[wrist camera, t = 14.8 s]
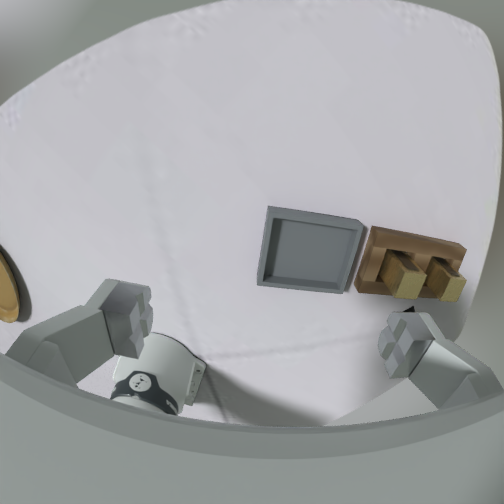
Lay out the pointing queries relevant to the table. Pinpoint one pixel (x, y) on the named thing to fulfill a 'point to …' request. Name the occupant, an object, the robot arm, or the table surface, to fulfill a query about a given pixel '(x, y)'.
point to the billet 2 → (444, 279)
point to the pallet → (415, 247)
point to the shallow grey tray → (307, 250)
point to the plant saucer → (8, 293)
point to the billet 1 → (401, 274)
